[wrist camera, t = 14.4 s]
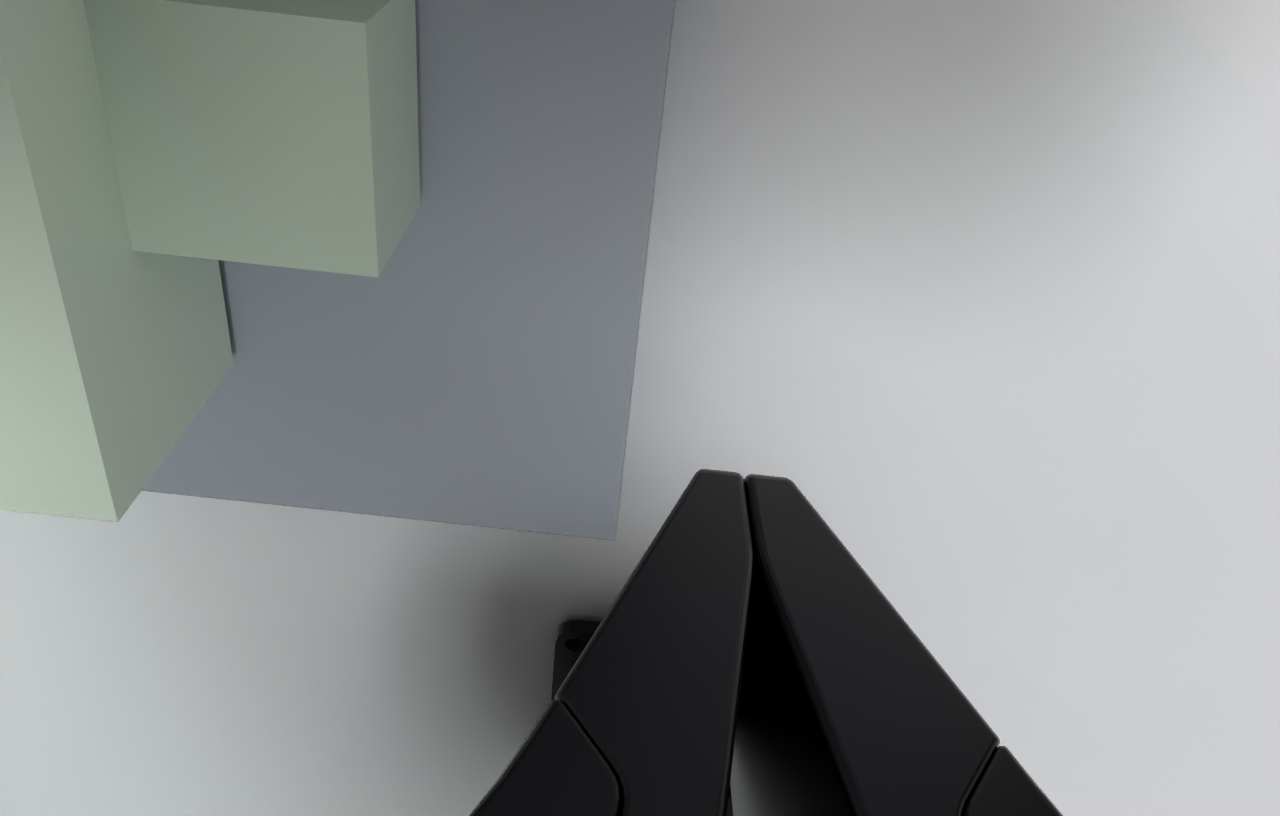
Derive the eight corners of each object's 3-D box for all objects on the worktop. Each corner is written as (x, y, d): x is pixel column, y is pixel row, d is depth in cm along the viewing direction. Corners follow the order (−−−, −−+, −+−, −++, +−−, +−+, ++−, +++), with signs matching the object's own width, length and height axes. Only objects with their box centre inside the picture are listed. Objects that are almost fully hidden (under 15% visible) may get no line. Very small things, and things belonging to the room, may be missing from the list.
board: (618, 507, 25) (605, 635, 21) (-207, 420, 25) (-356, 535, 21) (744, -637, 14) (760, -762, 10) (-763, -823, 13) (-1276, -1015, 10)
